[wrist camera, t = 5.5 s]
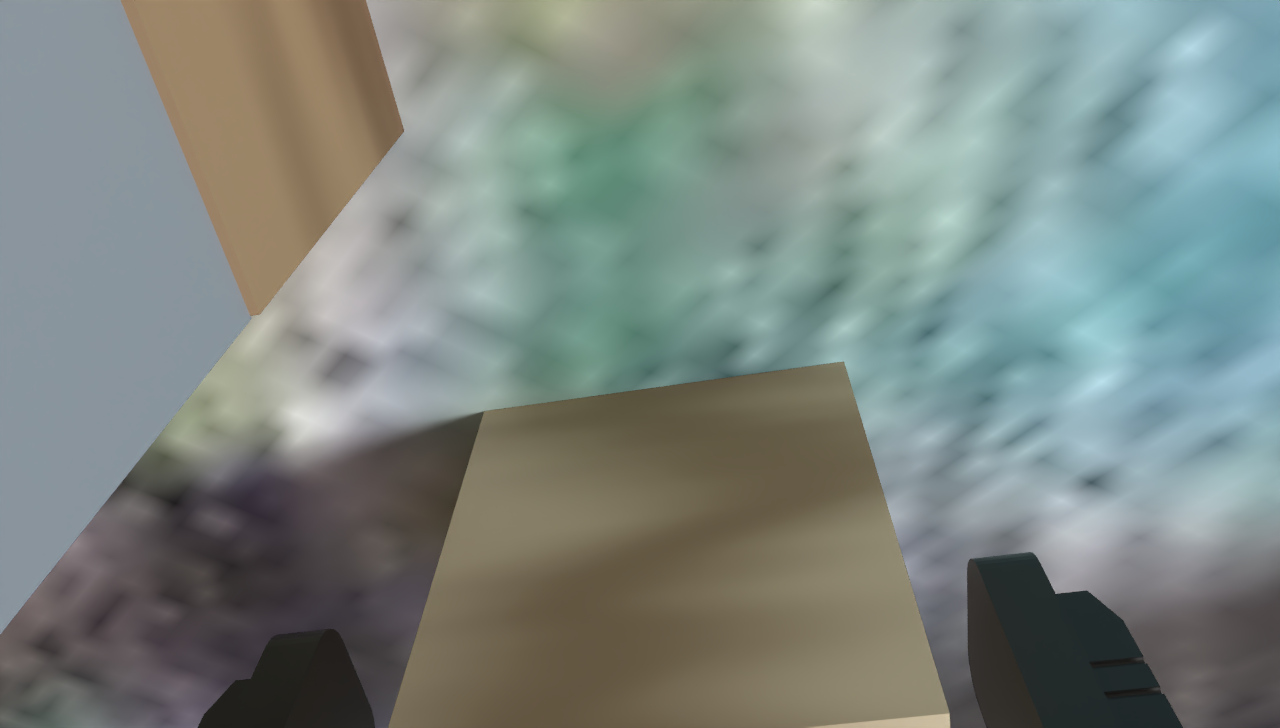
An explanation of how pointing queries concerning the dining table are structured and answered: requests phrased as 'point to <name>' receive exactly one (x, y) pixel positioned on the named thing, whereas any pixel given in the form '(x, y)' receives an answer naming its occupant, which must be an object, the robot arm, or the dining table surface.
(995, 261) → the dining table surface
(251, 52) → the tower base
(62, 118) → the tower top
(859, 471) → the oak block
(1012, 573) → the robot arm
